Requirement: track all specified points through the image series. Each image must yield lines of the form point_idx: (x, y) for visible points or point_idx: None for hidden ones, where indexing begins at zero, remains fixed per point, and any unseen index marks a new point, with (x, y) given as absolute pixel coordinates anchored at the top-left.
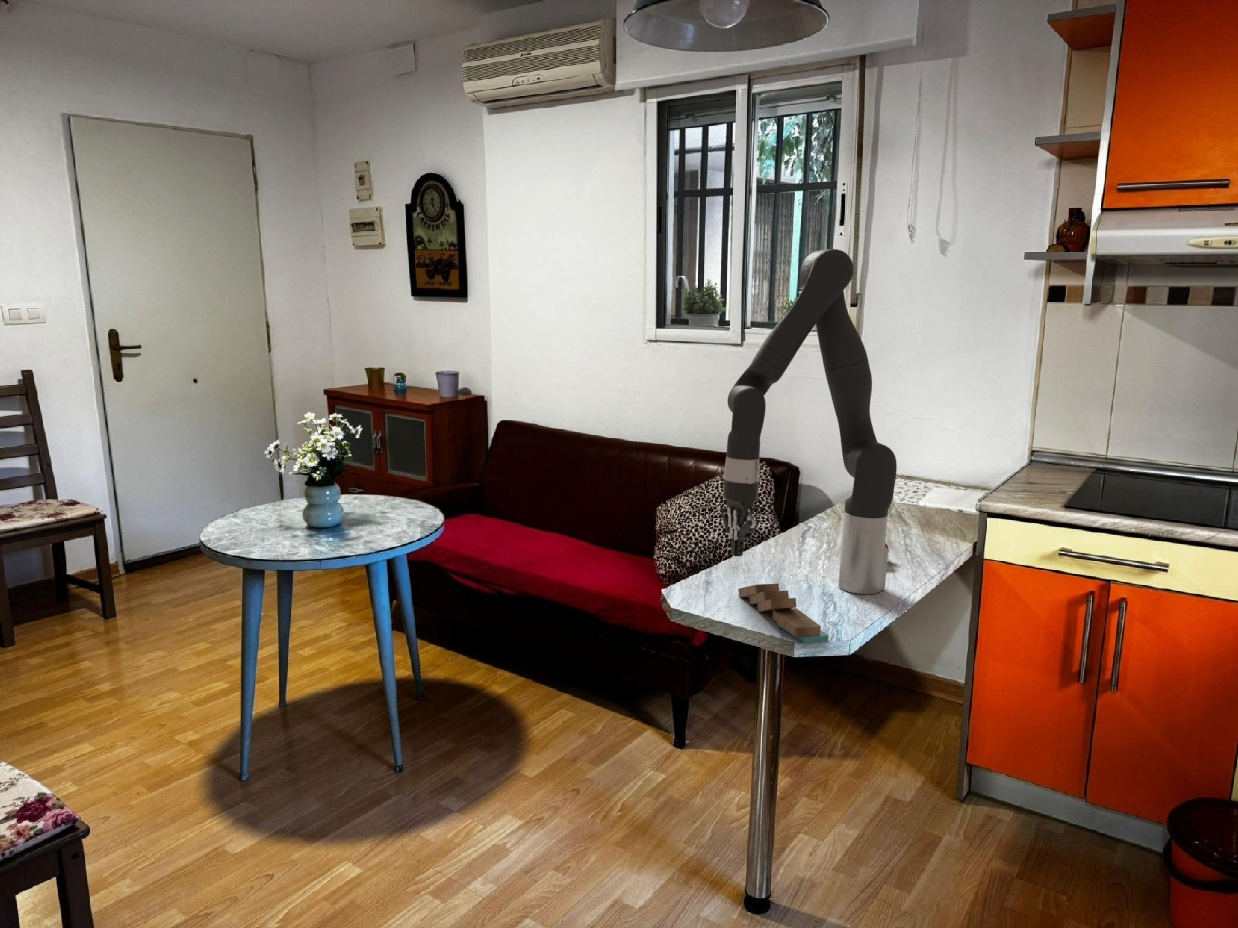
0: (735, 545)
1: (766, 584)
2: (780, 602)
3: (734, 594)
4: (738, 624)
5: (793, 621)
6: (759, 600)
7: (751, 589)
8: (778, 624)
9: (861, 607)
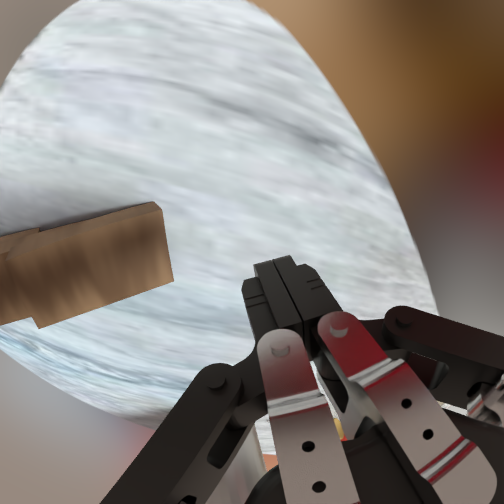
0: (268, 305)
1: (21, 294)
2: None
3: (181, 192)
4: None
5: None
6: (4, 243)
7: (42, 241)
8: None
9: (120, 401)
